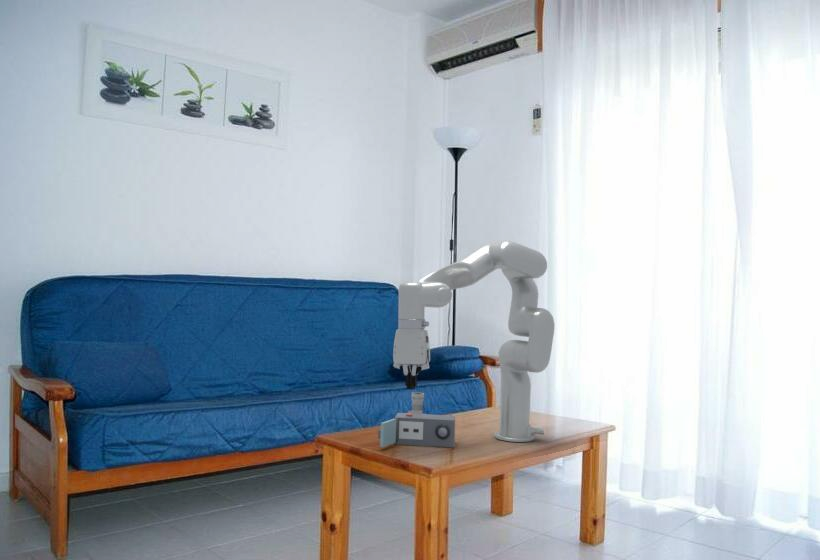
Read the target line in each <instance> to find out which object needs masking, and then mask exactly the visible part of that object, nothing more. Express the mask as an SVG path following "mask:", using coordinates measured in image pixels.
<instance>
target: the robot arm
mask: <svg viewBox="0 0 820 560" xmlns="http://www.w3.org/2000/svg"><path fill="white" fill-rule="evenodd" d="M499 269H501V272H502V273H503V275H504V276H505V278H506V279H507V281H508V282H509V284H510V287H511V288H510V289H511V300H510V307H509V314H508V315H509V316H508V319H507V320H508V321H507V322H508V323H507V325H508V326H507V327H508V330H509V332H510V333H511V334H512V335H514V336H518V337H524V338H525V337H527V338H528V341H527V340H521V339H510V340H508V341H505V342H503V343H502V345H501V346H500V348H499V350H498V361H499V367H500V369H499V370H500V397H499V398H500V399H499V401H500V404H499V430H498V431H495V432H494V435H493V436H494V438H495V439H497V440H501V441H505V442H514V443H526V442H527V443H528V442H532V441H534V439H535V435H539V436H540V435H543V436H544V434H545V429H544V428H539V427H534V426H531V423H530V413H531V411H530V410H531V385H532V383H531V379H530V375H529V373H542V372H543V371H545V370H546V369H547V367H548V366H549V364H550V359H551V353H552V348H553V343H554V335H555V320H554V316H553V315H552V313H551V312H550V311H549V310H548V309H546V308H542V307H538V303H539V289H538V286H537V283H536V282H535V280H534V279H539V278H541V277H542V276H544V274H545V273H546V272H547V269H548V261H547V259H546V257H545V256H544V254H543V253H541V252H540V251H538V250H536V249H533V248H530V247H527V246H525V245H523V244H520V243H517V242H514V241H511V240H502V241H500V240H499V241H490V242H487V243H485V244H483V245H481V246H480V247H478V248H477V249H475V250H473V251H472V252H471V253H469V254H468V255H466V256H464V257H463V258H461V259H460V260H458V261H456V262H453V263H451V264H448V265H446V266H445V267H442V268H439V269H438V270H435V271H433V272H431V273H429V274H428V275H426V276H424V277H423V278H421V279H419V280H418V281H416V282H402V283H400V284H399V285H398V315H397V316H398V323H397V324H398V326H397V327H398V329H396V330H395V335H394V341H393V352H392V354H393V355H392V360H393V365H392V366H393V367H394V368H396V369H397V370H398V369H399V370H401V372H402V373H403V375H404V376H405V377H404V378H405V382H404V383H405V384H404V385H405V387H406V390H411V391H412V390H415V389H416V387H417V385H418V375H419V373H421V371H424V370H428V369H430V364H429V363H430V362H431V349H430V346H431V345H430V339H429V332H428V329H426V327H429V326H430V322H429V321H426V319H425V308H437V309H439V308H443V307H445V306H448V305H449V303H451V300H452V297H453V292H452V290H453V291H454V290H457V289H462V288H463V289H464V288H466V287H470V286H473V285H475V284H476V283H478V282H479V281H480V280H482V279H483V278H485V277H487V276H489V274H491V273H492V272H494V271H496V270H499ZM411 366H412V369H411ZM528 372H529V373H528Z"/></svg>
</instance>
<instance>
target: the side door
mask: <svg viewBox="0 0 820 560" xmlns="http://www.w3.org/2000/svg"><path fill="white" fill-rule="evenodd" d="M377 434H378V435H377V439H378V440H379V447H380V448H384V447H387V446H390V445H393V444H394V443H395V442H396V419H395V418H391V419H389V420H385V421H383V422H380V429H378V431H377Z"/></svg>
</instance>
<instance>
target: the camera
mask: <svg viewBox="0 0 820 560" xmlns="http://www.w3.org/2000/svg"><path fill="white" fill-rule="evenodd" d="M424 401H425V393H424V392H419V391H412V392H411V410H409V411H408V412H407V413H412V414H425V413H423V411H424V409H423V408H424Z"/></svg>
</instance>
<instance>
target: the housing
mask: <svg viewBox="0 0 820 560" xmlns="http://www.w3.org/2000/svg"><path fill="white" fill-rule="evenodd" d="M394 419H396V442H395V443H393V445H403V446H404V445H405V446H420V447H421V446H422V447H437V448H438V447H439V448H455V440H456V439H455V436H456V415H446V414H429V413H428V414H427V413H424V414H412V413H408V412H396V415H395V417H394Z"/></svg>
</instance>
